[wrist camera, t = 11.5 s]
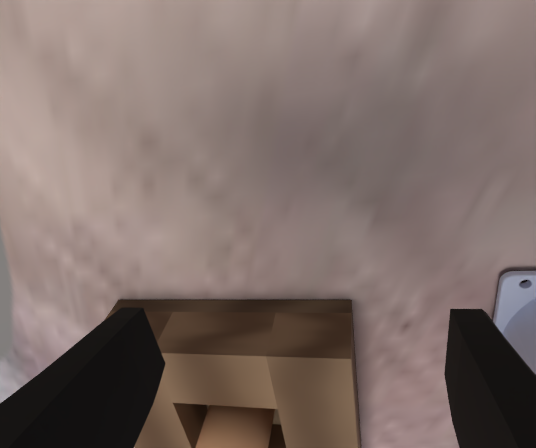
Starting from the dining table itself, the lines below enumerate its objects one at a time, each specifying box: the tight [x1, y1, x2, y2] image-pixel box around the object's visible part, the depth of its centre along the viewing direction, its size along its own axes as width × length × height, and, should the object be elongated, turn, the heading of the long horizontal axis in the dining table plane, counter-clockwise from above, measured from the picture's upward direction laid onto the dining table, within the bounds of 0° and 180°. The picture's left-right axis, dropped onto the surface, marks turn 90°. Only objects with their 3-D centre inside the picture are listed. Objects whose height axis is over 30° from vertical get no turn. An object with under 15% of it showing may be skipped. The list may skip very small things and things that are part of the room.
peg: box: [196, 405, 275, 448], centre depth 24 cm, size 4×4×7 cm
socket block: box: [105, 300, 361, 448], centre depth 26 cm, size 14×14×4 cm
